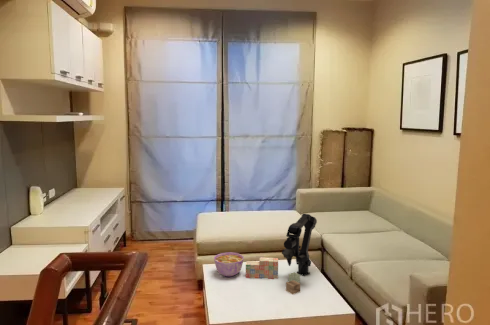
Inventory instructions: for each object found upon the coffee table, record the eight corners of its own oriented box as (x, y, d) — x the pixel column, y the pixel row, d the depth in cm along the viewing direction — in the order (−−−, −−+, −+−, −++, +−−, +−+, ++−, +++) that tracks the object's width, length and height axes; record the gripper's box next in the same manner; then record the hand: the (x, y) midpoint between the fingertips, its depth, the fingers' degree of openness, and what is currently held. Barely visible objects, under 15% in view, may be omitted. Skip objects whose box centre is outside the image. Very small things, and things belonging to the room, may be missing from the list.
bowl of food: (246, 279, 248) (246, 262, 247) (215, 281, 245) (215, 264, 243) (241, 267, 268) (241, 251, 266) (212, 269, 264) (212, 253, 263)
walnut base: (293, 287, 235) (293, 280, 234) (300, 291, 230) (300, 283, 229) (286, 290, 231) (286, 282, 231) (292, 294, 227) (292, 286, 226)
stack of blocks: (245, 278, 250) (245, 260, 249) (246, 274, 257) (246, 256, 255) (277, 279, 248) (278, 261, 247) (278, 275, 254) (278, 257, 253)
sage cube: (294, 279, 248) (294, 272, 247) (299, 282, 244) (299, 274, 243) (288, 281, 245) (288, 274, 245) (293, 284, 241) (293, 276, 240)
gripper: (275, 243, 244) (275, 266, 247) (295, 251, 229) (294, 276, 231) (288, 239, 251) (288, 262, 253) (308, 247, 236) (308, 271, 238)
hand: (294, 268), depth 244 cm, fingers open, 9 cm apart
